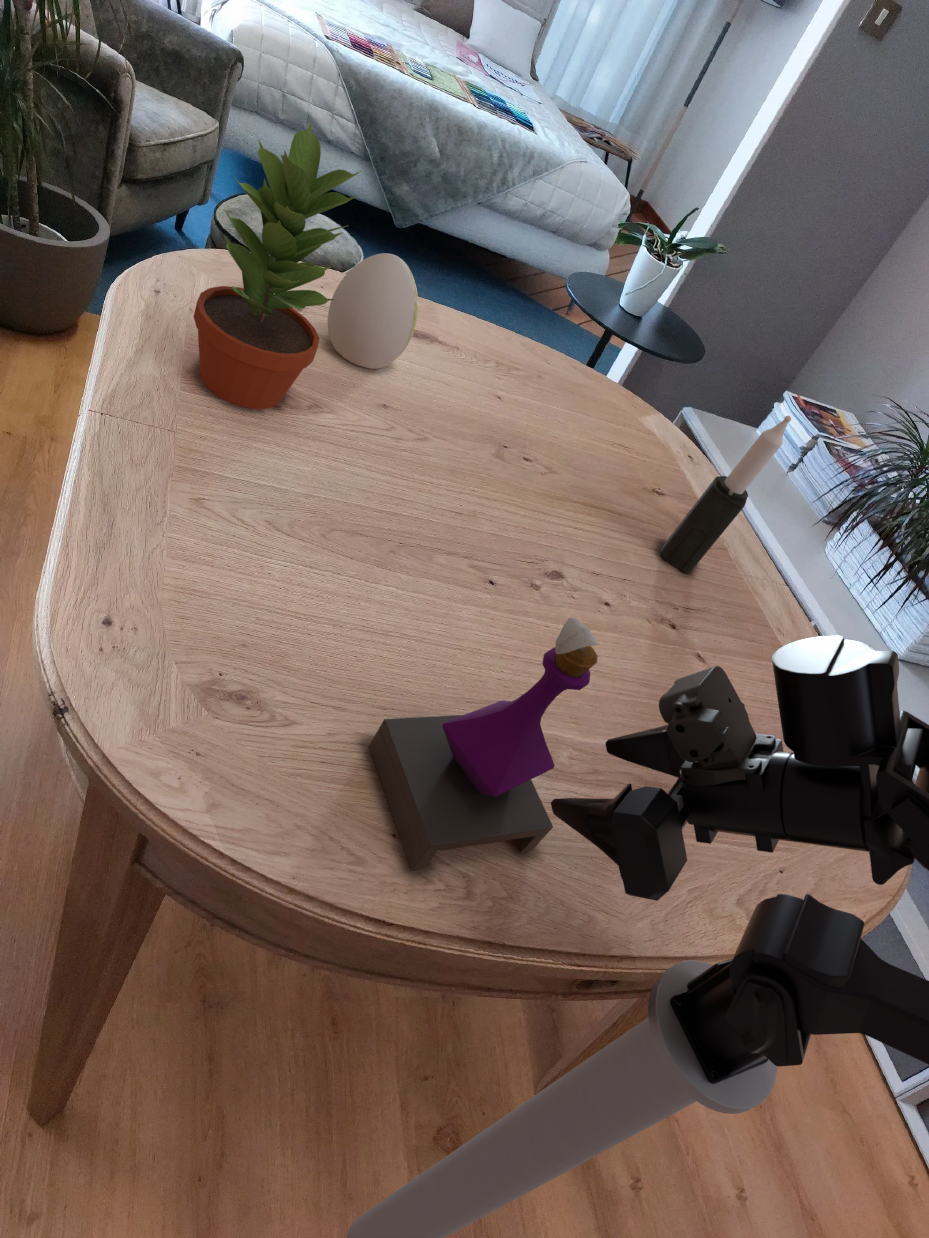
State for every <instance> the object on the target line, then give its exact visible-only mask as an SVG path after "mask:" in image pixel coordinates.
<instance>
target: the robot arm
mask: <svg viewBox="0 0 929 1238" xmlns="http://www.w3.org/2000/svg"><path fill="white" fill-rule="evenodd" d="M771 663H772V670H773V677H774V683H775V692H776V698H777V704H778V712H779V719H780V727H781V732H782V739H781V738H776V736H775V735H774V734H765V733H764V734H763V733H758V732H755V730H754V728H753V725H752V723H751V721H750V718H749V714H748V711H747V710H746V708H745V707H746V706H745V704H744V703H743V702H742V700H741V698H740V696H739V694H738V692H737V690H736V689H735V687H734V686H733V683H732V682H731V680H730V678H729V677H728V674H727V673H726V671H725V670H724V669H723V667H721V666H720V665H714V666H711V667H708V668H705V669H702V670H699V671H697V672H694V673H690V674H688V675H685V676H682V677H680V678H679V677H678V678H677V679H676V680H675V681H674V682H673V683H674V684H672V686H671V687H670V688H669V690H668V691H667V692H666V693H663V694H662V695H661V697H660V698H659V699H658V700H659V701H658V708H659V709H658V710H659V713H660V716H661V718H662V719H663V721H664V722H665V723H666V724H665V725H661V726H658V727H654V728H653V727H652V728H650V729H645V730H642V731H637V732H633V733H630V734H629V733H628V734H624V735H620V736H617V737H613V738H608V739H607V740H606V741H605V742H604V743H605V748H606V753H607V754H608V755H611V756H613V757H616V758H618V759H621V760H623V761H626V762H629V763H632V764H636V765H638V766H641V767H643V768H646V769H650V770H652V771H656V772H659V773H663V774H665V775H669V776H671V777H675V778H677V780H676V781H675V783H674V784H673V785H672V786H671V788H670V789H669V790H668V792H667V791H666V790H664V789H663V788H662V787H659V786H649V785H644V786H641V787H638V788H635V789H633V785H632V783H627V784H626V785H625V786H624V787H623V788H622V790H621V791H620V792H619V793H618V794H617V795H615V796H614V797H613V798H594V797H593V798H592V797H591V798H590V797H589V798H587V797H564V798H554V799H552V800H551V801H550V806H551V807H550V808H551V811H552V814H553V815H554V816H555V817H556V818H557V819H560V821H562V822H563V823H565V824H566V825H567V826H568V827H570V828H571V829H573V830H574V831H575V832H577V833H578V834H579V835H581V836H582V837H584V838H585V839H586V840H588V841H589V842H590V843H591V844H593V845H594V846H595V847H596V848H598V849H599V850H600V851H601V852H603V853H604V855H606V856H607V857H608V858H609V859H610V860H611V861H612V862H614V864H615V865H617V866H618V870H619V874H620V875H619V876H620V878H621V880H622V884H623V888H624V893H625V894H626V895H628V896H630V897H635V898H640V899H645V900H650V901H651V900H652V901H656V902H658V901H659V900H661V898H662V897H663V896H665V895H666V894H667V893H669V891H670V890H671V888H672V887H673V885H674V883H675V881H676V880H677V878H678V876H679V875H680V873H681V872H682V870H683V868H684V867H685V865H686V863H687V862H688V856H687V850H686V843H685V840H684V839H685V838H684V834H683V830H684V828H685V826H686V825H687V823H688V825H691V826H693V830H694V835H695V841H696V843H702V844H708V845H711V844H712V843H713V841H714V840H715V838H716V836H717V834H718V833H726V834H731V835H740V836H748V837H754V839H755V845H756V851H759V852H764V853H771V854H773V853H774V852H775V850H776V848H777V845H778V843H779V841H785V842H790V843H791V842H793V843H800V844H806V845H815V846H821V847H830V848H837V849H842V850H843V849H845V850H853V851H859V852H865V853H868V854H869V862H870V870H871V872H870V873H871V879H872V882H873V883H874V884H875V885H878V886H883V885H885V884H886V883H887V882H888V881H889V880H891V878H893V877H894V876H895V875H896V874H897V873H898V872H899V871H900V870H902V869H904V868H905V867H907V866H911V865H913V864H914V863H915V861H917V863H919V865H920V866H922V868H924V869H925V870H926V871H928V872H929V724H928V723H926V722H925V721H923V720H922V719H920V718H918V717H917V716H915V715H913V714H912V713H910V712H909V711H907V710H900V702H899V701H900V700H899V692H898V681H899V677H900V676H899V675H900V662H899V654H898V653H897V652H896V651H895V650H875V649H874V648H873V647H872V646H871V645H869V644H867V643H865V642H863V641H860V640H859V641H858V640H856V639H855V640H854V639H846V638H844V636H843V635H818V636H813V637H806V638H803V639H798V640H795V641H791V642H789V643H786V644H785V645H782V646H781V647H779V648H778V649H776V650H775V651H774V652H773V653H772V655H771ZM783 742H784V745H785V746H786V747H787V748H788V749H789V750H790V751H784V745H783ZM916 768H918V769H919V770H918V773H917V776H916V778H915V782H914V783H913V778H914V775H915V771H916ZM865 926H866V925H865V922H864V920H863V919H861V918H860V917H858V916H857V915H855V914H854V913H850V912H847V911H843V910H839V909H836V908H833V907H831V906H828V905H826V904H824V903H822V902H821V901H819V900H817V899H816V898H815V897H814V896H812V895H811V894H810V893H805V895H804V896H803V898H801V897H798V896H793V895H790V894H785V893H778V894H777V895H775V896H772V897H768V898H765V899H763V900H762V901H760V902H759V903H757V904H756V906H755V908H754V910H753V912H752V914H751V916H750V918H749V920H748V923H747V925H746V928H745V930H744V932H743V934H742V936H741V938H740V940H739V943H738V946H737V948H736V950H735V952H734V955H733V957H732V958H729V959H727V960H723V961H719V962H716V963H714V964H712V965H713V966H712V967H710V968H709V969H707V970H706V971H704V972H703V973H702V974H700V975H699V976H697V977H696V978H694V979H693V980H692V981H690V982H689V983H688V984H687V988H688V991H685V992H682V993H679V994H676V995H674V996H673V997H671V998H670V1004H671V1006H672V1008H673V1010H674V1012H675V1014H676V1017H677V1019H678V1021H679V1023H680V1025H681V1027H682V1029H683V1031H684V1033H685V1035H686V1037H687V1039H688V1041H689V1043H690V1045H691V1047H692V1049H693V1051H694V1053H695V1055H696V1057H697V1059H698V1061H699V1063H700V1066H701V1068H702V1070H703V1072H704V1074H705V1076H706V1078H707V1080H708V1081H709V1082H710V1083H711V1084H716V1083H719V1082H721V1081H724V1080H726V1079H728V1078H731V1077H733V1076H736V1075H738V1074H741V1073H743V1072H745V1071H748V1070H750V1069H753V1068H755V1067H757V1066H760V1065H762V1064H764V1063H766V1062H767V1061H768V1059H769V1060H770V1061H771V1062H772V1063H773V1064H774V1065H775V1066H777V1068H778V1067H792V1066H793V1067H795V1066H801V1065H803V1062H804V1059H805V1056H806V1052H807V1050H808V1046H809V1044H810V1043H809V1042H810V1039H811V1036H812V1035H814V1036H823V1035H845V1034H860V1035H864V1036H866V1037H868V1038H871V1039H873V1040H876V1041H878V1042H879V1043H881V1044H884V1045H886V1046H888V1047H891V1048H892V1049H894V1050H896V1051H899V1052H901V1053H903V1054H905V1055H907V1056H910V1057H911V1058H914V1059H916V1060H918V1061H920V1062H922V1063H924V1064H926V1065H929V980H928V979H925V978H923V977H921V976H918V975H916V974H914V973H912V972H910V971H907V970H905V969H903V968H900V967H898V966H895V965H893V964H891V963H889V962H887V961H886V960H883V959H882V958H881V957H880V956H879V955H878V954H877V953H876V952H875V951H874V950H873V949H872V948H871V947H870V946H869V945H868V944H867V942H865V941H864V940H863V939H862V936H863V932H864V928H865ZM675 1000H676V1001H677V1002H678V1004H677V1003H676V1001H675ZM712 1074H713V1075H714V1078H713V1076H712Z"/></svg>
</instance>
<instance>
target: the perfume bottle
mask: <svg viewBox="0 0 929 1238" xmlns="http://www.w3.org/2000/svg"><path fill="white" fill-rule="evenodd" d="M599 645H600V643H599V641H598V640H597V638H596V637H595V635H594V634H593V632H592V631H591V630H590V629H589V628H588V627H587V626H586V625H585V624H583V622H581V620H579V619H578V618H577V617H575V616H573V617H569V618H568V619H567V620H566V621H565V623H564V625H562V628H561V630H560V632H559V634H558V636H557V638H556V640H555V647H552V648H551V649H549V650H547V651H546V652H545V653H544V654H543V656H542V666H543V668H544V673H543V674H542V676H541V677H540V679H539V680H537V682H536V683H534V685H532V687H531V688H529V689H528V690H527V691H525V692H524V693H523V694H521V695H520V696H518V697H517V698H516V699H514V700H512V701H511V700H503V699H502V700H499V701H496V702H494V703H491V704H488V705H485V706H483V707H481V708H478V709H475V710H473V711H471V712H468V713H465V714H461V715H462V716H460V717H457V718H455V719H452V720H449V721H447V722H445V723H443V725H442V726H443V729H444V732H445V735H446V738H447V741H448V744H449V747H450V750H451V753H452V756H453V758H454V759H455V761H456V762H457V764H458V765H459V766H460V768H461V769H462V770H463V772H464V773H465V775H466V776H467V777H468V779H469V780H470V781H471V783H472V784H473V786H474V787H475V788H476V790H477V791H478V792H479V793H480V794H483V795H489V796H498V795H501V794H503V793H505V792H507V791H509V790H511V789H513V788H515V787H517V786H519V785H521V784H523V783H525V782H527V781H529V780H533V779H535V778H537V777H539V776H542V775H543V774H545V773H547V772H549V771H551V770H553V769H554V768H555V765H556V764H555V763H554V759H553V757H552V755H551V752H550V749H549V747H548V744H547V742H546V739H545V735H544V733H543V728H542V726H541V722H542V717H543V716H544V714H545V712H546V710H547V709H548V707H550V705H551V704H552V702H554V701H555V699H556V698H557V697H558V696H559V695H560V694H562V693H564V691H567V690H572V691H581V690H582V689H584V688H586V687H587V686H588V685H589V684H590V683H591V682H590V681H591V671H590V669H592V667H594V666H595V665H596V664H598V658H599V657H598V654H597V652H596V651H595V649H594V648H593V646H599Z"/></svg>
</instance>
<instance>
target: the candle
mask: <svg viewBox="0 0 929 1238" xmlns="http://www.w3.org/2000/svg"><path fill="white" fill-rule="evenodd" d="M791 421H792V417H791V415H786V416H784V418H783V420H780V422H779V423H777V424H776V425H774V426H773V427H772V428H769V429H766V430H763V431H762V432H761V434H760V435H759V436H758V437H757V439H755V441H754V443H753V444H752V445H751V446H750V447H749V449H748V450H747V452H746V453H745V454H744V455H743V456H742V458H741V459H740V460H739V462H738V463H737V464H736V465H735V467H734V468H733V469H732V470H731V472H730V473H729V474H728V476H726V475H719V476H718V475H717V476H715V478H714V479H713V480H712V481H711V483H710V484H709V485H708V486H707V488H706V489H705V490H704V491H703V493H702V494H701V495H700V497H699V498H698V499H697V500H696V502H695V504H694V505H693V506H692V507H691V509H690V510H689V512H687V514H686V515H685V516H684V518H683V519H682V520H681V522H680V523H679V524H678V525H677V527H676V528H675V529H674V531H673V532H672V533H671V535H670V536H669V537H668V538H667V540H666V541H665V542H664V543H663V546H662V548H661V550H660V552H659V556H660V557H661V558H662V560H664V562H668V563H669V564H671V565H672V566H674V567H675V568H677V569H678V570H680V572H682V573H683V574H687V575H688V574H691V572H692V571H693V570H694V569H695V567H696V566H697V565H698V564H699V562H700V561H701V560H702V559H703V558H704V557H705V556H706V554H707V553H708V552H709V550H710V549H711V548H712V547H713V545H714V544H715V543H716V542H717V541H718V539H719V538H720V537H721V536H722V534H723V533H724V532H725V531H726V529H727V528H728V527H729V526H730V525H731V523H732V522H733V521H734V520H735V519H736V517H737V516H739V514H740V513H741V511H742V510H743V509H744V508H745V506H746V503H747V500H748V497H749V493H748V491H747V489H748V488H749V486H750V485H751V483H752V482H753V481H754V480H755V479H756V478H757V476H759V474H760V472H761V471H762V470H763V469H764V468H765V466H766V465H767V464H768V463H769V462H770V460H771V459H772V458H773V456H774V455H775V454H776V453H777V452H778V450H779V449H780V448H781V447H782V445H783V441H784V440H783V439H784V434H785V431H786V430H787V429H786V428H787V427H788V424H789V423H790V422H791Z"/></svg>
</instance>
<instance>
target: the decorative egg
mask: <svg viewBox="0 0 929 1238" xmlns="http://www.w3.org/2000/svg"><path fill="white" fill-rule="evenodd" d="M331 299H336V300H331V301H330V302H329V307H328V311H327V312H328V313H327V314H328V315H327V330H328V337H329V340H330V343H331V345H332V346H333V349H334V350H335V351H336V352H337V353H338V354H339V356H341V357H342V358H343V359H345V360H346V361H348V362H350V363H352V364H354V365H356V366H358V367H361V368H365V369H370V370H371V369H372V370H378V369H382V368H385V367H386V366H388V365H390V364H391V363H393V362H395V360H397V359H398V358H399V357H400V356H401V355H402V354H403V353H404V352H405V351H406V349H407V347H408V346H409V344H410V342H411V340H412V338H413V335H414V332H415V329H416V326H417V323H418V322H417V321H418V315H419V295H418V289H417V285H416V281H415V278H414V274H413V273H412V271H411V268H410V267H409V265H408V264H407V263H406V262H405V260H404V259H402V258H400V257H399V256H398V255H395V254H393V253H389V252H388V253H387V252H386V253H384V252H382V253H376V254H373V255H370V256H368V257H366V258H364V259H363V260H361V261H360V262H358V263H357V264H355V265H354V266H353V267H352V268H351V269H350V270H349V271H348V272H347V273H346V274H345V275H344V276H343V278H342V279H341V280H340V282H339V283H338V285H337V287H336V289H335V290H334V293H333V295H332V297H331Z"/></svg>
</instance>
